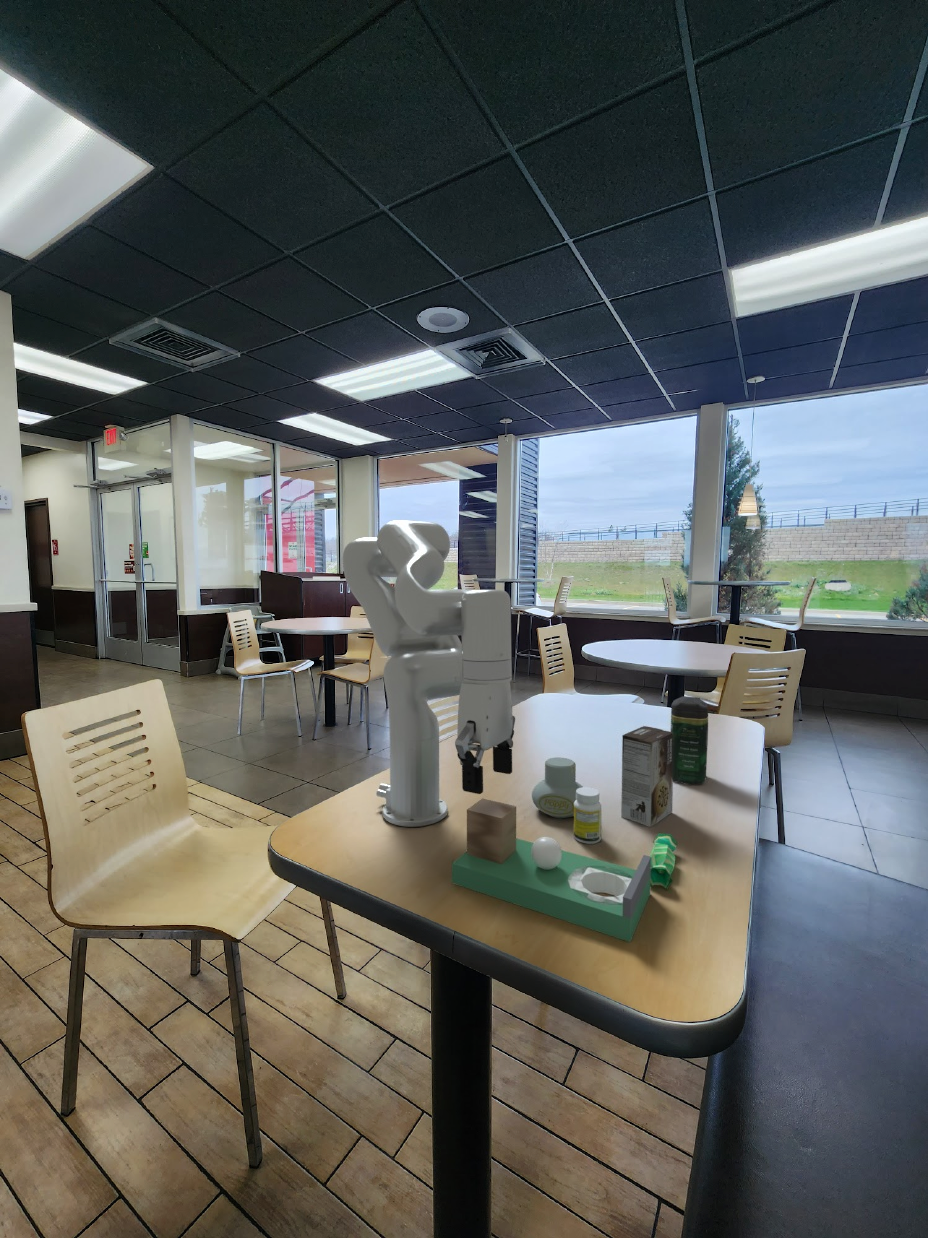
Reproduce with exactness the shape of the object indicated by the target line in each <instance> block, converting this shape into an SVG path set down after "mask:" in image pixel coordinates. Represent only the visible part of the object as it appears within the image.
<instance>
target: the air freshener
mask: <svg viewBox="0 0 928 1238" xmlns="http://www.w3.org/2000/svg"><path fill="white" fill-rule="evenodd" d="M576 774H577V773H576V762H575V761H574V760H573V759H571V758H567V757H558V756H557V757H550V758H548V759H547V760H545V762H544V779H543V780H541V781H539V782H538V783H537V784H535V786H534V787H533V789H532V791H531V799H532V802H533V804H534V806H535V807H536V808H537V809H538V810H539V811H541V812H542V813H544V814H546V815H547V816H550V817H552V818H555V819H567V818H571V817H574V802H575V800H576V790H577V789H578V788H581V787H584V786H583V785H582V784H580V783H579V782H577V781H576V780H577V779H576V777H577V776H576Z"/></svg>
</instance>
